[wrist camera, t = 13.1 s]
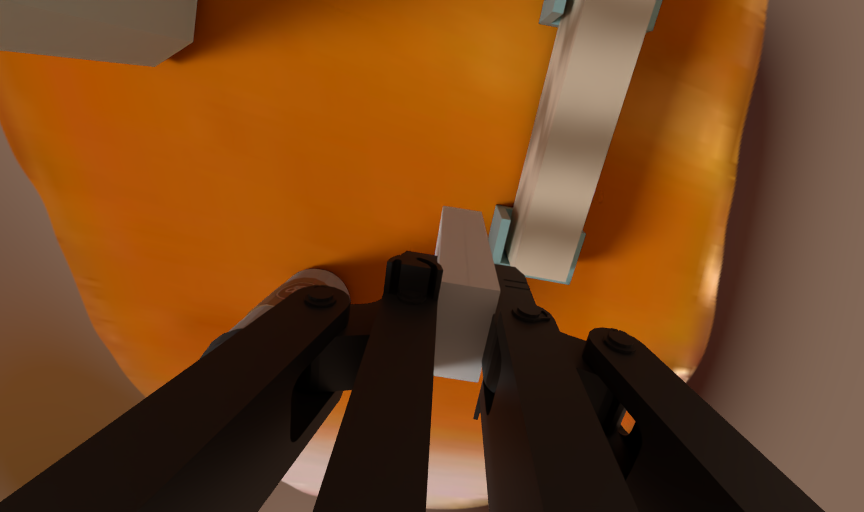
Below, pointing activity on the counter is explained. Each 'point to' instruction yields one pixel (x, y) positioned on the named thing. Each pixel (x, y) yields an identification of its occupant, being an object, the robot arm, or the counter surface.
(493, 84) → the counter surface
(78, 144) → the counter surface
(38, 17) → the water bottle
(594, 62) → the slat
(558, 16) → the end caps
